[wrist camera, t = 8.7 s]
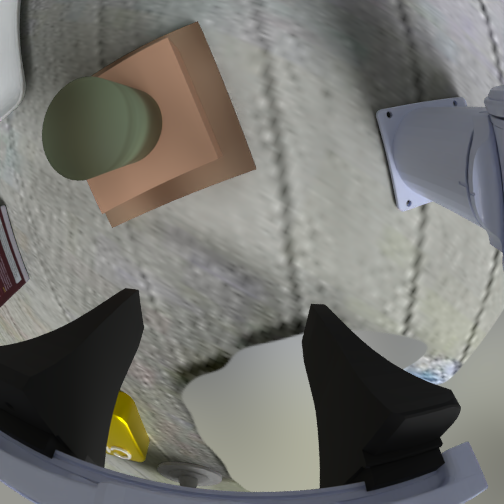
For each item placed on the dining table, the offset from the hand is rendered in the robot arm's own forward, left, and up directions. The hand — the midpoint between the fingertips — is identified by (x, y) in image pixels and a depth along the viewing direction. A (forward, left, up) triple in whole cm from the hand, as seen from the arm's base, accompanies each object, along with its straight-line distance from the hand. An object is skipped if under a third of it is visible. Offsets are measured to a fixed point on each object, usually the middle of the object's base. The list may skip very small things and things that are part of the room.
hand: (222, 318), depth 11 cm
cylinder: (+3, -9, -6) cm, 12 cm away
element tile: (+29, +18, -11) cm, 36 cm away
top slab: (+3, -9, -9) cm, 13 cm away
